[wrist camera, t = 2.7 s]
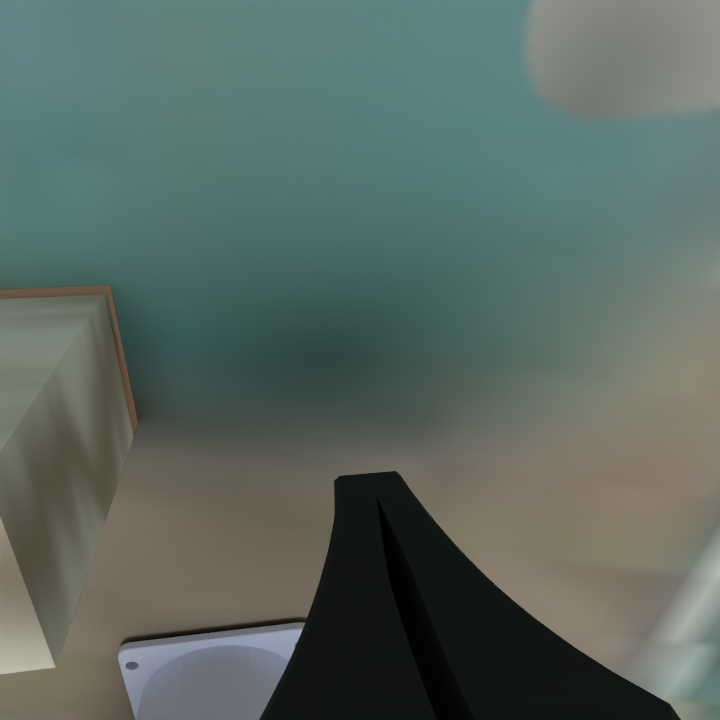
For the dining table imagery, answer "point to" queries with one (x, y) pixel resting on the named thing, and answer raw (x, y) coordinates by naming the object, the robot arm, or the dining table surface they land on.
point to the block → (55, 458)
